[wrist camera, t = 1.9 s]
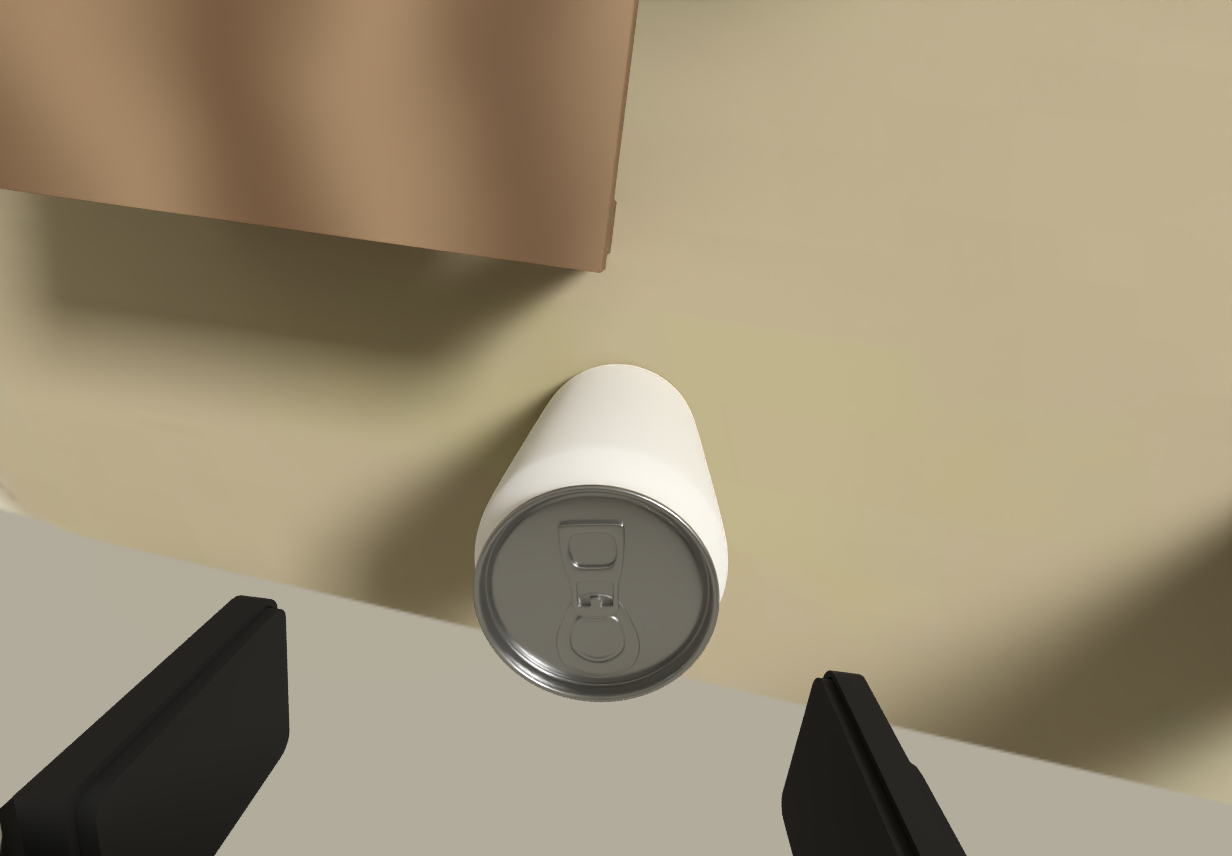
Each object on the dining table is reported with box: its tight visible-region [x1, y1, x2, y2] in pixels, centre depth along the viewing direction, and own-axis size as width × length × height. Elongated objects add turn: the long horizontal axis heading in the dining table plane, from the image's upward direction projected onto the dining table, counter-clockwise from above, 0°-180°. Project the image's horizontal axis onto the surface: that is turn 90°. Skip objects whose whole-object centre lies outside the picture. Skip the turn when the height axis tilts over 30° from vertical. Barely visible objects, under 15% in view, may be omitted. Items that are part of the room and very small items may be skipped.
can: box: [473, 364, 728, 702], centre depth 19 cm, size 6×6×12 cm
